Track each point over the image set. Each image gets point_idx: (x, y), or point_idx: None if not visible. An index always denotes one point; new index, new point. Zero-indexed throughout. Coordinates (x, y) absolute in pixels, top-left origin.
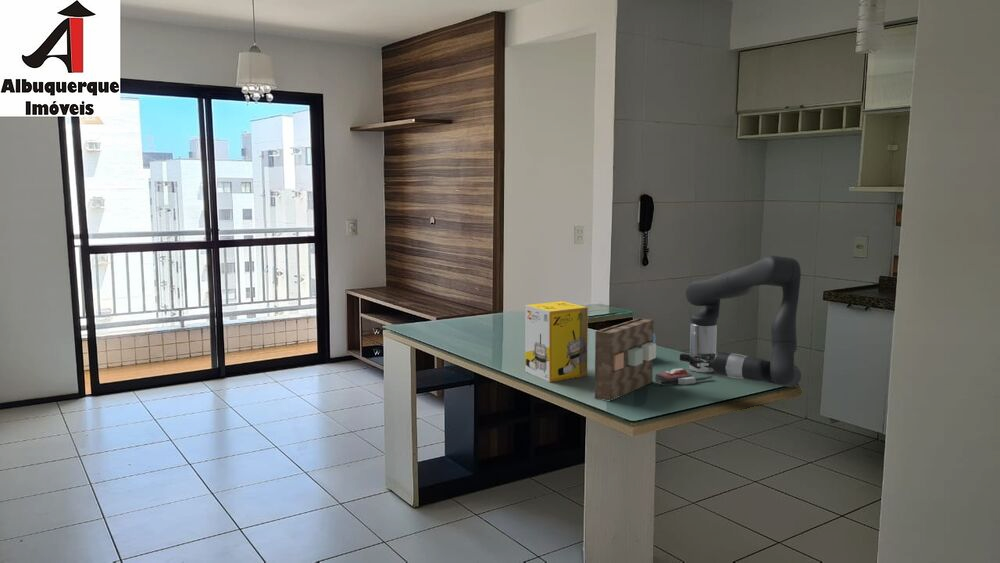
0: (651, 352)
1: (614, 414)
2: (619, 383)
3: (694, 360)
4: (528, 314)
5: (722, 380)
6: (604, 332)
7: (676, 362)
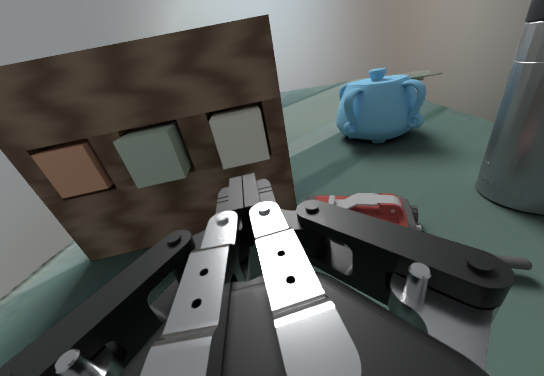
0: (233, 143)
1: None
2: (119, 224)
3: (78, 317)
4: None
5: None
6: None
7: (463, 152)
